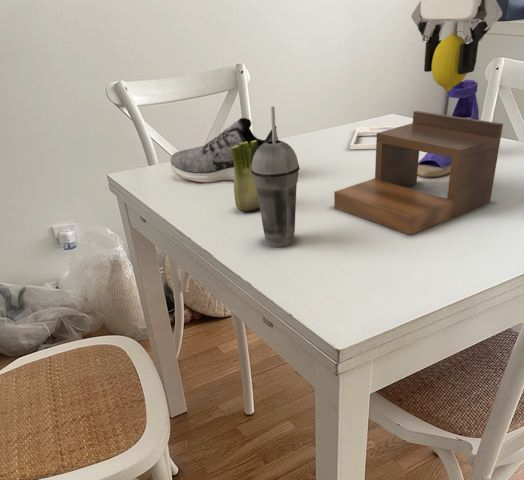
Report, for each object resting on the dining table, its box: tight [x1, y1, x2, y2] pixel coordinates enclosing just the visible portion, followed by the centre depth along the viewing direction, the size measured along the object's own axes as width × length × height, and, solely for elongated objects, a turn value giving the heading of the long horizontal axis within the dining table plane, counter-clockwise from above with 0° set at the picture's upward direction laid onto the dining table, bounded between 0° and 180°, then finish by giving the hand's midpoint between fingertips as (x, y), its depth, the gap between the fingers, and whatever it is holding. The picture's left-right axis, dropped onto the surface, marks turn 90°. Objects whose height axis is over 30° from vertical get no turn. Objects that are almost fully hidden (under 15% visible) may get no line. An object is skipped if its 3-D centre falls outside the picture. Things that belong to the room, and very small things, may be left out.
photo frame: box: [349, 125, 402, 150], centre depth 133 cm, size 15×1×18 cm
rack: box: [333, 110, 504, 236], centre depth 92 cm, size 20×18×13 cm
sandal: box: [417, 79, 480, 179], centre depth 109 cm, size 8×20×15 cm, turn 132°
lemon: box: [431, 32, 468, 92], centre depth 83 cm, size 6×6×8 cm
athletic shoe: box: [170, 117, 279, 184], centre depth 114 cm, size 10×27×12 cm, turn 71°
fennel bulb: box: [231, 140, 260, 212], centre depth 97 cm, size 6×5×12 cm
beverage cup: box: [251, 106, 300, 248], centre depth 81 cm, size 7×7×20 cm
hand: (448, 70), depth 83 cm, fingers closed on lemon, 5 cm apart
